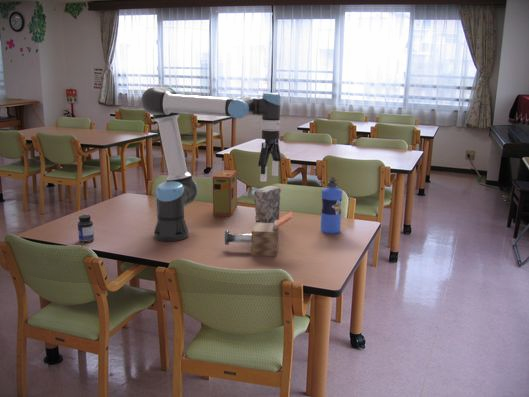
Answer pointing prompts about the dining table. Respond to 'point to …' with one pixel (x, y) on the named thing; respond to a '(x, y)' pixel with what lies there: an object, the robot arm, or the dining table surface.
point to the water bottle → (331, 208)
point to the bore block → (265, 239)
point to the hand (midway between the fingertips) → (269, 178)
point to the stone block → (267, 204)
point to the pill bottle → (85, 228)
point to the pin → (237, 237)
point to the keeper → (282, 220)
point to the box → (224, 192)
